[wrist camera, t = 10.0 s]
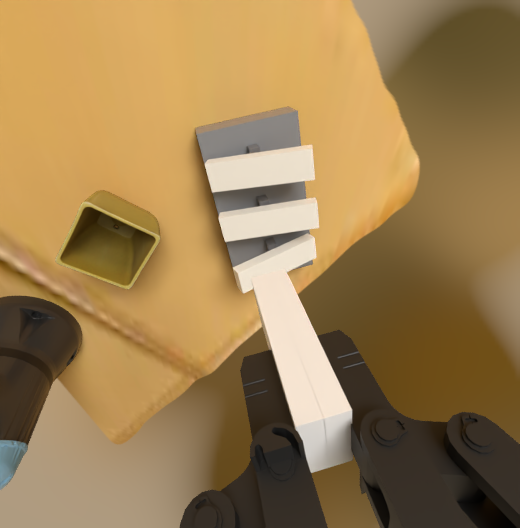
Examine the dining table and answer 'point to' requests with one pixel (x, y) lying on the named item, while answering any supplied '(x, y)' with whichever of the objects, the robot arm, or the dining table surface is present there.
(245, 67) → the dining table surface
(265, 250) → the switch panel
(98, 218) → the flower pot
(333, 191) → the dining table surface
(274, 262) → the bar
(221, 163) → the bar
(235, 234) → the bar
